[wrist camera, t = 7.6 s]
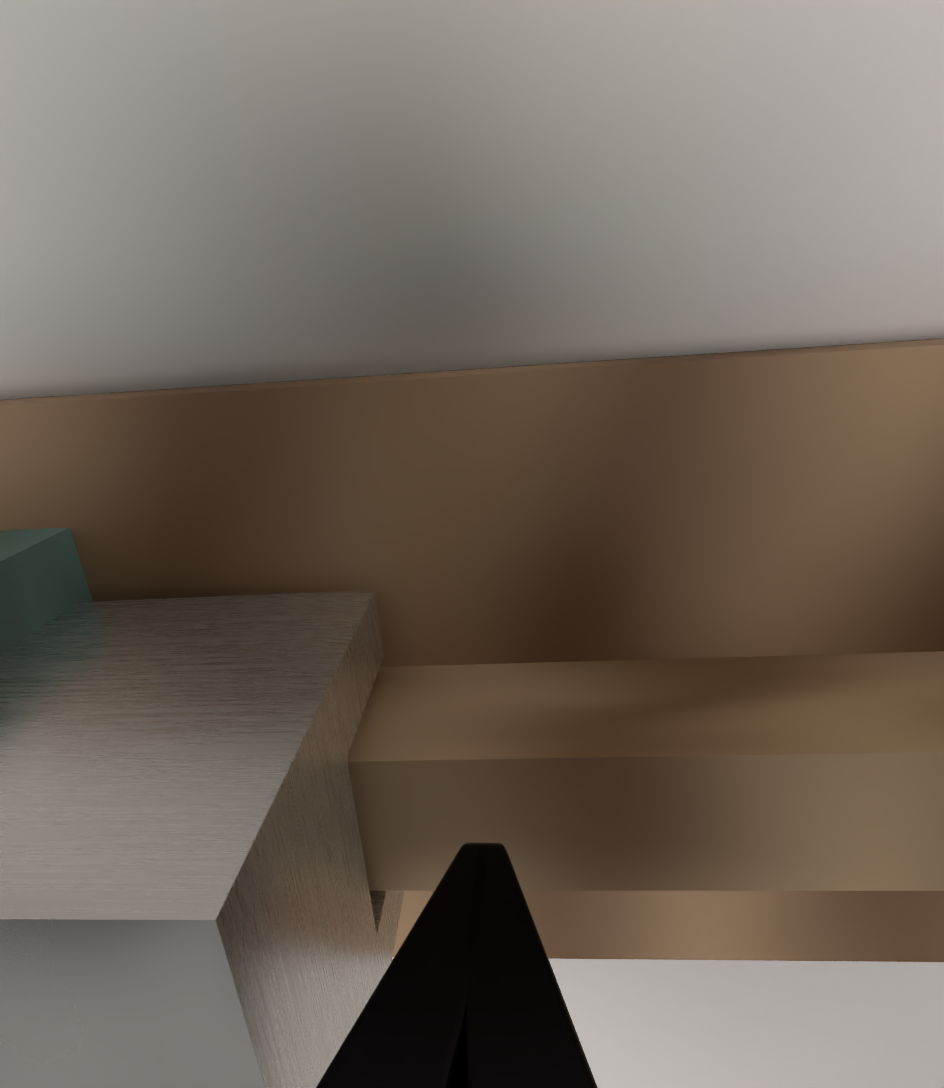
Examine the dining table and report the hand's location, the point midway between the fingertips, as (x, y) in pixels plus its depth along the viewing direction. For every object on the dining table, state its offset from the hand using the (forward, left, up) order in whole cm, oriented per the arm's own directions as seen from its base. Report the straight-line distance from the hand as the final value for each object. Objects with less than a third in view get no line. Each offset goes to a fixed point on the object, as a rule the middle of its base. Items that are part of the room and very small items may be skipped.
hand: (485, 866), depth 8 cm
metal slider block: (+4, 0, -3) cm, 5 cm away
